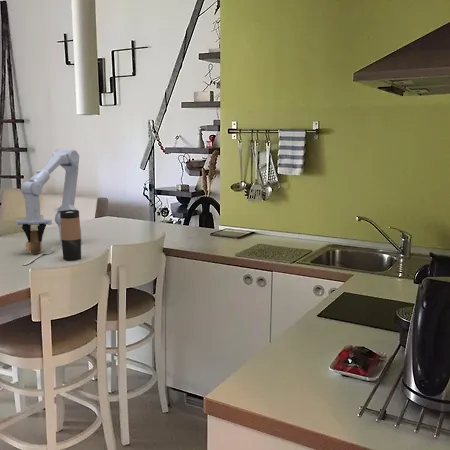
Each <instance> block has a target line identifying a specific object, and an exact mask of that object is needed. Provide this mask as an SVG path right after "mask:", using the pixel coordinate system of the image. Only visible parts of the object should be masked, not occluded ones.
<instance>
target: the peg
mask: <svg viewBox="0 0 450 450" xmlns="http://www.w3.org/2000/svg"><path fill="white" fill-rule="evenodd" d="M30 245H31V251H30V253H33V254H38V253H41V252H42V249H41V246H40V242H39V233H38V229H37V230H36V229H35V230H31V231H30Z"/></svg>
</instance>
